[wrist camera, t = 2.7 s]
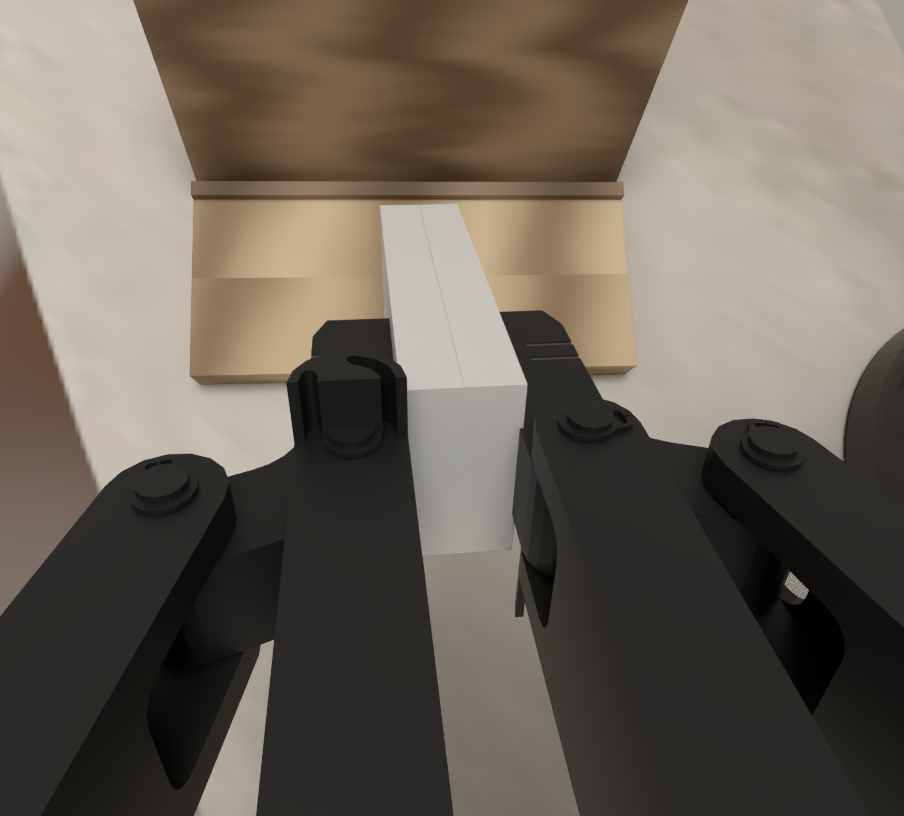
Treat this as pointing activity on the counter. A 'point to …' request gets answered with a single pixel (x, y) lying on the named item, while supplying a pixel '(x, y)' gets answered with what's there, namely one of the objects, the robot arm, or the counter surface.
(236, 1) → the board
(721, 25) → the counter surface
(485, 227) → the laid floorboards
